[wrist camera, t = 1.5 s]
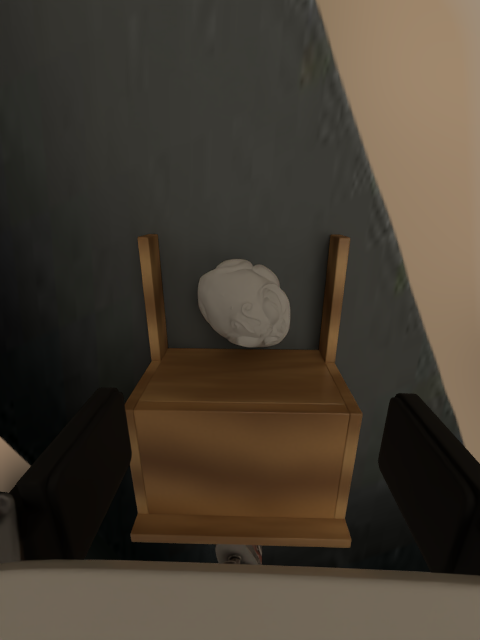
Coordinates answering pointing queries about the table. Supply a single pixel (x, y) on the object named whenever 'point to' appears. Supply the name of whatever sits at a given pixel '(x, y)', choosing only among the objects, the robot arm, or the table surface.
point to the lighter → (239, 554)
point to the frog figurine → (244, 303)
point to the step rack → (242, 433)
